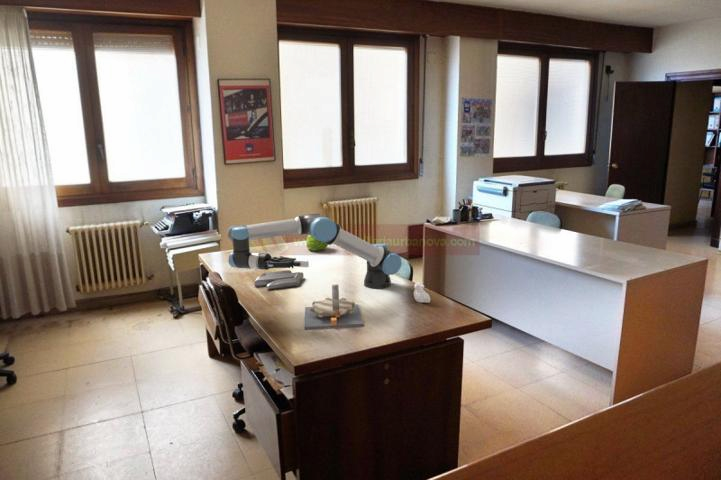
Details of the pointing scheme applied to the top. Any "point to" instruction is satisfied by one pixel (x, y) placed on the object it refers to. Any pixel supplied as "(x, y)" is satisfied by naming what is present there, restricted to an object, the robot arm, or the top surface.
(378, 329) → the top surface
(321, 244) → the lettuce
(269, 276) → the grey flat lobed piece
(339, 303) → the white lobed piece
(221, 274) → the top surface
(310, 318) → the sprocket stand
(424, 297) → the duck figurine
